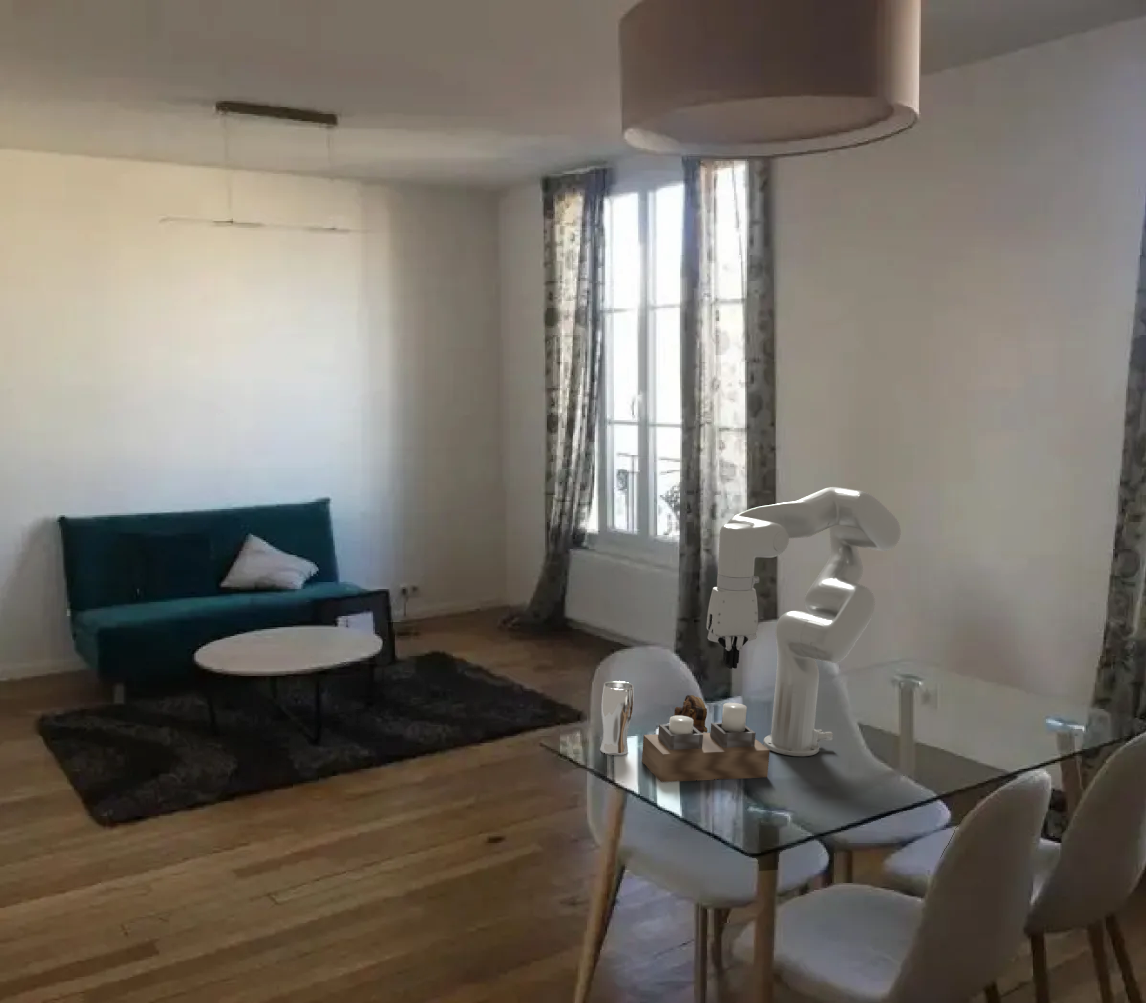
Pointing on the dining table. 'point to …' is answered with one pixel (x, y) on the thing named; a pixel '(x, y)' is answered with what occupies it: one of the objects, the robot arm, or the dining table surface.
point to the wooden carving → (694, 712)
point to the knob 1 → (681, 725)
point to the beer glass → (616, 716)
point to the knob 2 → (734, 717)
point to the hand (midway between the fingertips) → (730, 666)
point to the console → (705, 755)
